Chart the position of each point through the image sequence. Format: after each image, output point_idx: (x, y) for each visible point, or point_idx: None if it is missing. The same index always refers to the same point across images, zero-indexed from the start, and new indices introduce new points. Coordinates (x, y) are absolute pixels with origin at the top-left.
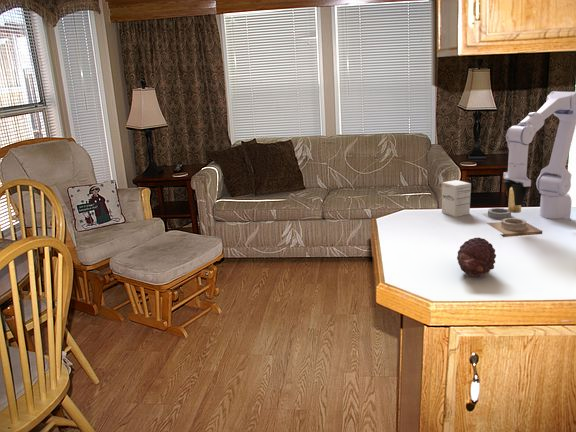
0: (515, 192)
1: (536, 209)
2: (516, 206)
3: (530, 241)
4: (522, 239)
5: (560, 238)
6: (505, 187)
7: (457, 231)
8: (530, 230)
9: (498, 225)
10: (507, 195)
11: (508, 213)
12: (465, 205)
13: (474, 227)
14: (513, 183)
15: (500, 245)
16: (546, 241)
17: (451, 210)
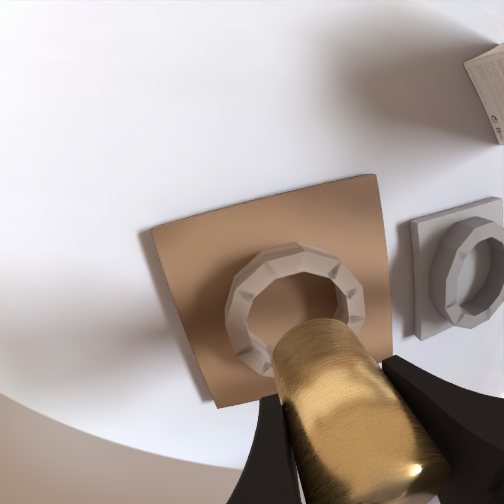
0: (235, 498)
1: (494, 391)
2: (279, 393)
3: (102, 333)
4: (125, 308)
5: (166, 435)
6: (493, 405)
7: (263, 5)
8: (226, 370)
9: (326, 232)
10: (424, 378)
11: (447, 313)
12: None
13: (341, 103)
14: (468, 499)
15: (31, 189)
16: (116, 387)
17: (496, 49)
